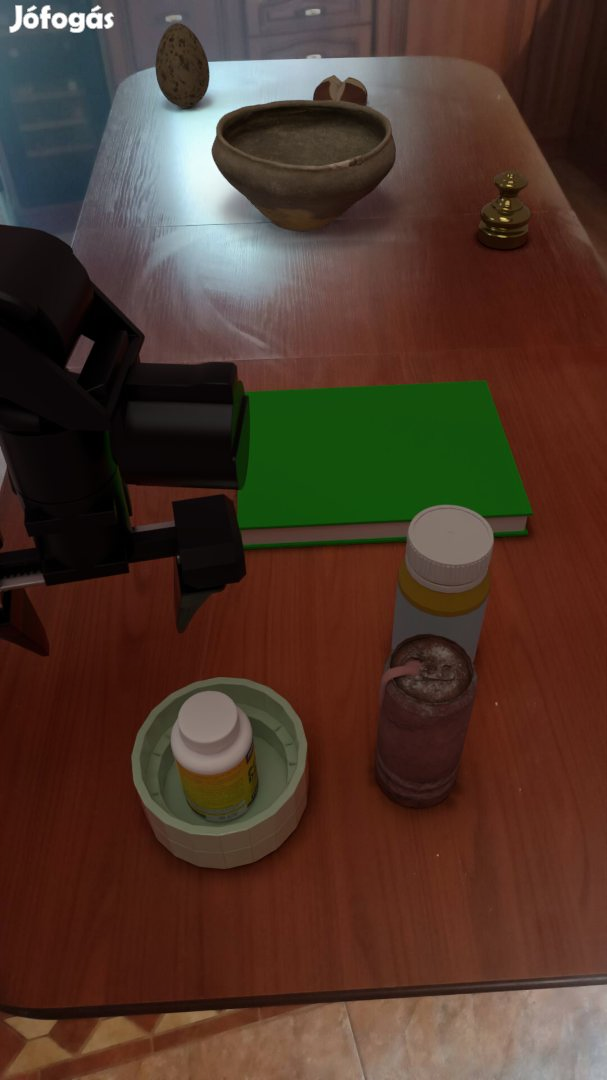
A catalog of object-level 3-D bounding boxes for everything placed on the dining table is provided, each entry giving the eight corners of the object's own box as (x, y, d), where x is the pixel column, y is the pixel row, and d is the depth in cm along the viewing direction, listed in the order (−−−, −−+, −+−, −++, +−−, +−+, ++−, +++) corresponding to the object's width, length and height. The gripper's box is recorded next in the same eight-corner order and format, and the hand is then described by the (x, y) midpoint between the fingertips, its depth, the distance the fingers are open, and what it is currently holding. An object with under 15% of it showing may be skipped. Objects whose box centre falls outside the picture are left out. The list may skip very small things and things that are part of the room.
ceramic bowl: (154, 890, 55) (139, 854, 51) (139, 737, 64) (125, 695, 59) (325, 849, 57) (325, 811, 53) (289, 706, 65) (286, 663, 61)
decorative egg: (184, 119, 162) (173, 34, 151) (150, 108, 167) (137, 24, 156) (223, 105, 167) (216, 22, 156) (189, 94, 172) (179, 13, 161)
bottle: (483, 639, 70) (511, 516, 59) (459, 702, 65) (484, 581, 54) (407, 614, 72) (420, 490, 61) (378, 673, 67) (388, 552, 57)
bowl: (184, 215, 130) (172, 123, 120) (310, 168, 143) (309, 81, 133) (298, 276, 115) (295, 176, 105) (428, 217, 128) (436, 123, 118)
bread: (307, 112, 163) (306, 85, 159) (324, 94, 170) (323, 68, 167) (360, 117, 160) (360, 90, 156) (374, 99, 168) (375, 72, 164)
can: (358, 754, 62) (364, 646, 52) (432, 727, 64) (451, 617, 54) (392, 824, 58) (404, 721, 48) (469, 794, 60) (497, 689, 50)
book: (527, 535, 78) (533, 513, 76) (239, 549, 78) (237, 527, 76) (481, 399, 94) (485, 377, 92) (241, 410, 93) (239, 389, 91)
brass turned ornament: (502, 255, 118) (513, 187, 111) (466, 237, 123) (475, 170, 115) (536, 241, 121) (549, 173, 114) (500, 224, 125) (511, 158, 118)
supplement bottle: (266, 815, 58) (256, 743, 51) (190, 833, 57) (169, 762, 50) (252, 748, 62) (242, 672, 55) (180, 764, 61) (160, 689, 54)
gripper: (212, 368, 51) (229, 537, 63) (-93, 406, 49) (-17, 576, 60) (239, 481, 44) (253, 651, 55) (-120, 534, 41) (-28, 701, 52)
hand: (114, 639), depth 56 cm, fingers open, 9 cm apart
